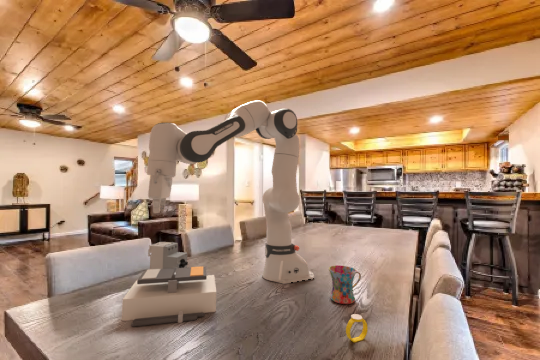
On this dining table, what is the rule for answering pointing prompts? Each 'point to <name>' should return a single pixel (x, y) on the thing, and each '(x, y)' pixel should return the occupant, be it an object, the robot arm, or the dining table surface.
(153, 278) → the block
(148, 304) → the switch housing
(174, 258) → the circuit breaker
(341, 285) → the mug
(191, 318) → the dark grey piece
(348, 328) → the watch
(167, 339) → the dining table surface
